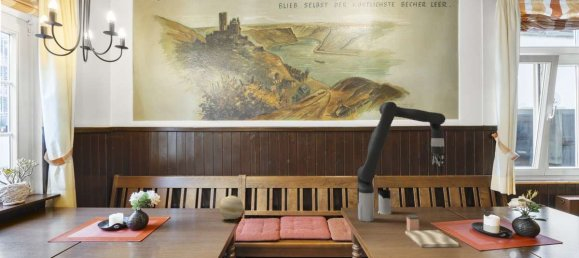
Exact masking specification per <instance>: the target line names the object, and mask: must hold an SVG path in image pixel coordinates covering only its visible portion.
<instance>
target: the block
mask: <svg viewBox="0 0 579 258" xmlns="http://www.w3.org/2000/svg"><path fill="white" fill-rule="evenodd" d="M406 231H420V217H419V216H418V215H415V214H411V215H410V214H409V215H408V214H407V215H406Z"/></svg>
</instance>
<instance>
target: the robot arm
mask: <svg viewBox="0 0 579 258" xmlns="http://www.w3.org/2000/svg"><path fill="white" fill-rule="evenodd" d="M378 111H379V113H380V119H379V122H378V124H377V125H376V127H375V128H374V130H373V131H372V133H371V136H370V139H369V141H368V146H367V156H366V158H365V159H366V160H365V162H364V164H363V165H362V166H360V167H359V168H358V170H357V174H356V175H357V189H358V203H357V219H358V220H359V221H360V222H366V223H367V222H369V223H370V222H374V221H375V190H374V189H375V188H374V185H373V180H374V179H375V176H376V173H377V168H378V164H379V160H380V158H381V156H382V153H383V150H384V147H385V145H386V143H387V138H388V136H389V133H390V128H391V126H392V123H393V121H394V119H395V118H402V119H407V120H412V121H417V122H420V123H429V126H430V130H431V134H430V135H431V140H430V152H431V154H430V164H431V165H432V171H434V172H436V171H437V170H438V172H439V173H440V174H441V173H443V172H444V166H445V165H446V162H445V161H446V159H445V155H443V154H444V153H445V140H444V139H445V138H444V137H445V136H444V134H445V133H444V130H443V129H442V126H441V125H443V124H444V123H445V122H446V116H445V114H443V113H440V112H432V111H426V110H424V109H423V110H421V109H418V108H407V107H400V106H397V104H396V103H395V102H393V101H385V102H384V103H382V104H381V105H379V110H378ZM437 164H438V165H437ZM437 167H438V168H437Z"/></svg>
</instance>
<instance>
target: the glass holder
mask: <svg viewBox="0 0 579 258" xmlns="http://www.w3.org/2000/svg"><path fill="white" fill-rule="evenodd" d="M395 193H396V194H397V199H396V202H395V203H394V204H393V205H392V206H391V204H392V201H391V199H393V198H394V194H395ZM399 195H400V194H399V193H398V191H394V192H392V195H391V190H390V189H379V190H378V196H377V197H378V211H377V213H378V214H379V213H380V214H379V215H392V212H391V211H392V209H393V207H395V206H396V204H397V203H398V201H399V198H400V196H399Z"/></svg>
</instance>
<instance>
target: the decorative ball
mask: <svg viewBox="0 0 579 258" xmlns="http://www.w3.org/2000/svg"><path fill="white" fill-rule="evenodd" d="M243 211H244V204H243V201H242V199H241V198H239V197H238V196H236V195H228V196H226V197H224V198H223V199H222V200H221V202H220V204H219V213H220V215H221V217H223V218H224V219H225V220H228V219H234V220H236V219H238V218H239V217H241V215H242V213H243Z"/></svg>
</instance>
